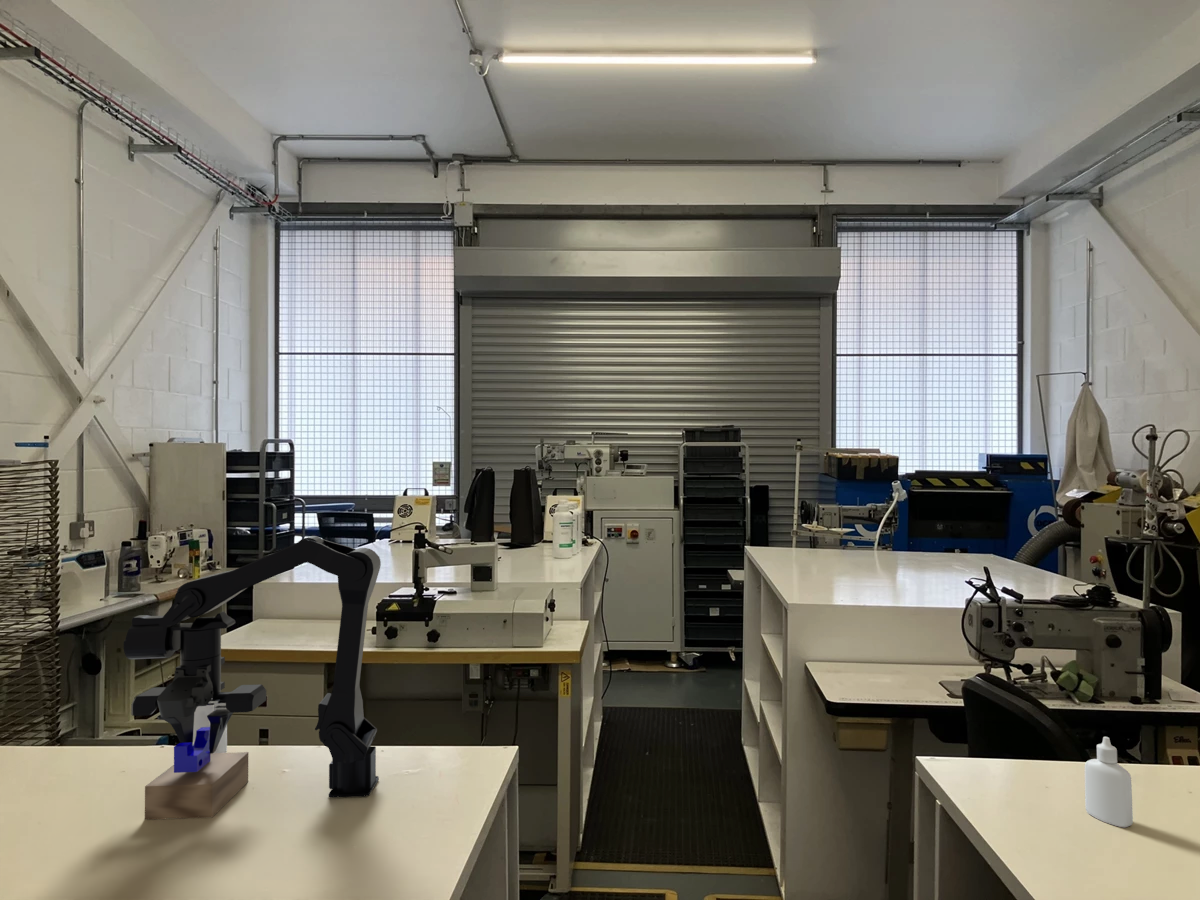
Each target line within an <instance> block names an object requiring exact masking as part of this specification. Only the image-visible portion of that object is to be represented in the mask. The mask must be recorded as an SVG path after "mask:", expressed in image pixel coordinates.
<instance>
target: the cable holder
mask: <svg viewBox="0 0 1200 900" xmlns="http://www.w3.org/2000/svg"><path fill="white" fill-rule="evenodd" d="M209 739H210V727H201V728H200V729H198V730H197V731H196V739H195V742H194V745H193V744H192V742H189V743H180V742H179V743H177V744H176V745H174V746H173V765H174V773H181V772H198V771H199V770H200V769H201V768H202V767H204V766H205V765H206V764H207V763H209V762H210V749H209Z"/></svg>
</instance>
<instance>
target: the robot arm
mask: <svg viewBox="0 0 1200 900" xmlns="http://www.w3.org/2000/svg"><path fill="white" fill-rule="evenodd" d="M306 563H308V564H311V565H313V566H314V567H317V568H319V569H321V570H322V571H324V572H326V573H328V574H331V575H334V576H336V577H337V583H338V584H337V585H338V592H339V597H340V600H341V615H340V622H339V631H338V640H337V648H336V658H335V659H336V660H335V667H334V668H335V669H334V675H333V685H332V690H331V693H330V692H327V693H326V694H325V696H324V697H323V698H322V699H321V701H320V702H319V703H318V708H317V712H318V713H317V714H318V718H317V719H318V720H317V724H316V726H315V728H314V731H317V730H318V738H319V741H320V743H322V744H323V745H324V746H325V747H326V748H328V751H329V753H330V756H331V758H332V761H331V762H330V763H329V764H328V788H329V790H330V791H329V793H328V798H331V799H332V798H355V797H363V798H364V797H368V796H370V795H371V793H372V792H373V789H374V788H375V786H376V785H377V783H378V781H379V778H380V777H379V776H378V775H377V772H376V771H377V770H376V769H377V767H376V766H377V765H376V764H377V761H376V759H377V757H376V755H377V754H376V753H377V749H376V748H377V747H376V746H371V745H372V743H373V741H374V740H375V737H376V733H377V732H378V728H377V727H376V726H375V725H373V723H371V721H369V719H367V718H366V717H365V716H364V700H363V697H362V691H361V688H360V687H361V686H360V681H361V671H362V664H363V663H362V662H363V652H364V644H365V637H366V626H367V619H368V610H369V609H368V608H369V602H370V601H371V600H370V599H371V597H372V594H373V592H374V589H375V587H376V583H377V580H378V577H379V573H380V570H381V565H382V564H381V558H380V556H379V555H378V554H377V553H376V551H374V550H373V549H372V548H368V547H359V548H357V549H356V548H353V547H351V546H348V545H344V544H340V543H337V542H333V541H329V540H326V539H324V538H322V537H319V536H317V535H311V536H308V537H304V538H302V539H300V540H299V541H297V542H296V543H294V544H291V545H289V546H287V547H285V548H282V549H280V550H278V551H274V552H272V553H271V554H268V555H266V556H264V557H261V558H259V559H256V560H254V561H251V562H250V563H247V564H245V565H243V566H240V567H238V568H234V569H231V570H227V571H222V572H218V573H217V572H216V573H214V574H209V575H205V576H202V577H199V578H197V579H193V580H191V581H187V582H184V583H182V585H180V586H179V587H178V588H177V591H176V593H175V595H174V596H175V597H174V602H173V604H172V605H171V606H170V608H169V609H168V610H167V611H166V613H165V614H164V615H147V614H143V615H142V614H140V615H136V616H133V617H132V618H131V626H130V627H129V628H128V630H127V632H126V636H125V639H124V641H123V651H124V655H125V658H127V659H128V660H144V659H145V660H146V659H166V658H167V659H168V658H171V657H172V656H174V654H175V652H176V651H180V654H179V656H180V657H179V660H180V661H179V662H180V664H179V665H178V666H176V667H175V671H174V678H173V679H172V682H171V683H169V684H168V685H167V686H164V687H163V686H161V687H160V686H159V687H151V688H149V689H148V690H146V691H144V692H142V693H140V694H137V695H136V696H135V697H134V698H133V700H132V702H131V704H130V705H131V708H130V711H131V712H130V714H131V716H133V717H134V716H135V717H136V716H151V715H152V714H154V712H155V711H156V710H157V709H159V715H158V716H157V719H158V720H160V721H161V720H163V721H165V722H166V723H168V724H170V726H171V727H172V729H173V730H174V732H175V734H176V736H177V739H178V741H179V743H189V742H192V744H193V729H194V712H195V710H196V708H197V707H198V706H206V705H214V711H213V712H212V713H210V714H209V715H207V718H208V719H209V721H210V739H209V749H210V754H213V753H214V752H215V751H216V749H217V746H218V744H219V742H220V739H221V737H222V735H223V732H224V730H225V728H226V725H227V726H228V723H229V721H230V719H231V717H232V716H233V714H234V713H236V714H237V713H249V712H253V711H254V710H256V709H257V708H258V707H259V706H261V705H263V703H265V702H266V701H267V689H266V688H265V686H264V685H263V684H241V685H239V686H237V688H235V689H234V690H232V691H222V690H224V689H225V686H226V685H225V684H226V683H225V681H222V666H223V665H224V664H225V663H226V657H225V656H222V630H223V629H224V630H225V629H227V628H229V627H231V626H233V625H235V624H236V620H235V619H234V618H232V617H231V616H229V615H228V614H227V613H226V612H225V611H224V610H222V611H221V612H218V613H217V614H216V615H215V616H203V615H206V614H207V613H210V612H212V611H214V610H216V609H218V608H219V607H221V606H222V605H224V604H226V603H228V602H229V601H230V600H231V599H232V600H233V598H235V597H236V596H238V595H239V594H240V593H242V592H244V591H245V590H247V589H248V588H250V587H253V586H255V585H256V584H259V583H261V582H264V581H266V580H269V579H271V578H273V577H276V576H278V575H280V574H282V573H285V572H287V571H289V570H293V569H294V568H296V567H299V566H301V565H303V564H306ZM201 616H202V617H201ZM190 618H195V619H194V621H193V622H184V621H185V620H187V619H190ZM181 622H182V623H181Z"/></svg>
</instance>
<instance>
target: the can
mask: <svg viewBox="0 0 1200 900" xmlns="http://www.w3.org/2000/svg"><path fill="white" fill-rule="evenodd" d="M213 711H214V705H206V706H198V707H197V708H196V710H195V712H194V729H193V745H194V742H195V739H196V731H197V730H198V729H200V728H201V727H210V721H209V719H208V718H207V715H209V714H210V713H212V712H213ZM214 753H228V724H227V725H226V728H225V730H224V732H223V735H222V737H221V739H220V742H219V744H218V746H217V749H216V751H215V752H214Z"/></svg>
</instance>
